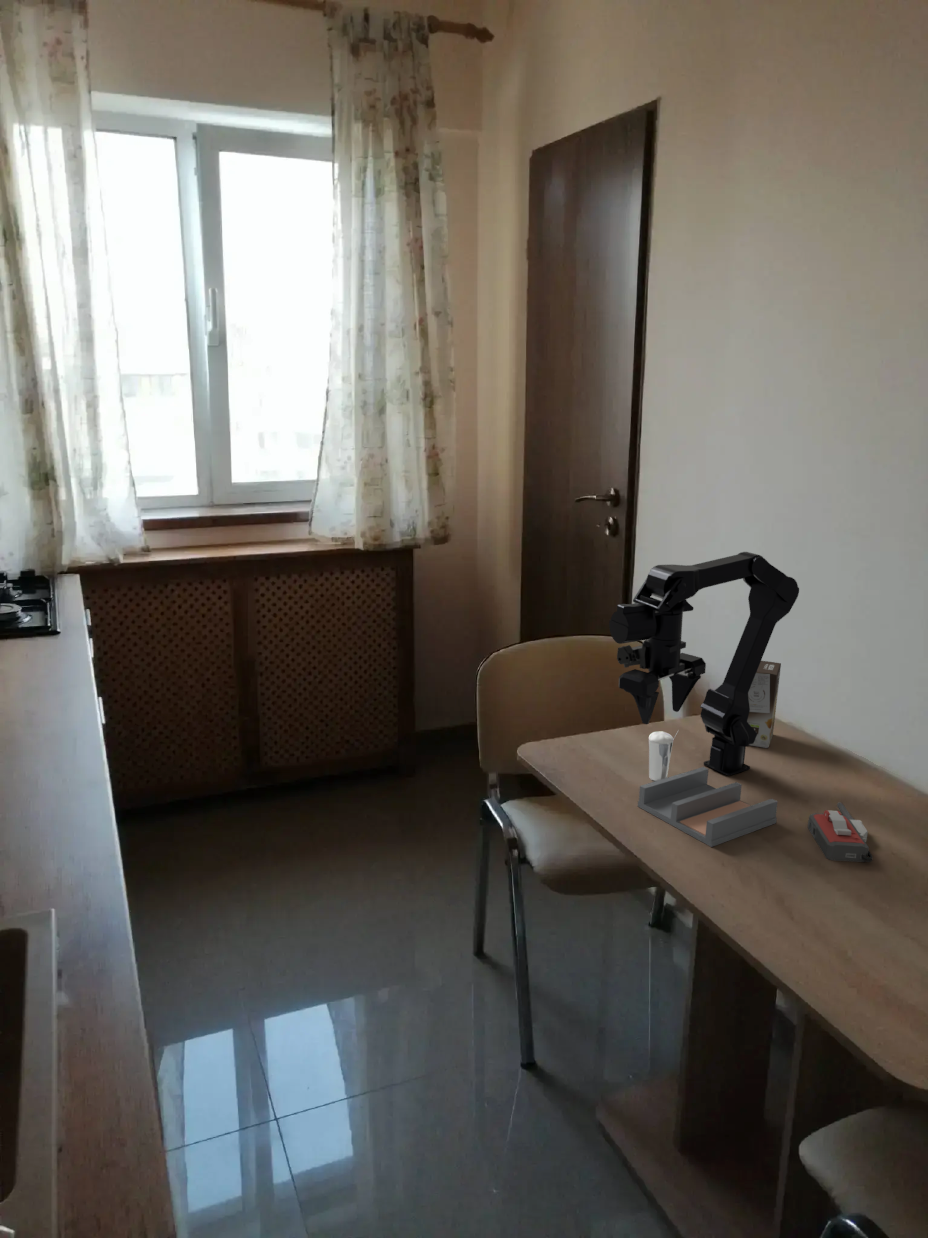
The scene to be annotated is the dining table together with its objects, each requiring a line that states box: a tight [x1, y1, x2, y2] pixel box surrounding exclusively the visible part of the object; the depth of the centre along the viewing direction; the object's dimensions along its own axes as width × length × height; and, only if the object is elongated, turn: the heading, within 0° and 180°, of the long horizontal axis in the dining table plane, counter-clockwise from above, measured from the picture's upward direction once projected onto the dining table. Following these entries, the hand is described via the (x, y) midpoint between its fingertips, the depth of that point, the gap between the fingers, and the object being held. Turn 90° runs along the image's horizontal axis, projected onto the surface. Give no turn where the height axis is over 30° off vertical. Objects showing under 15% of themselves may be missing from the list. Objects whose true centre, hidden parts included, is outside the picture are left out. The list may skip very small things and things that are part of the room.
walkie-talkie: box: [807, 801, 874, 863], centre depth 153 cm, size 9×4×20 cm
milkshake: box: [648, 729, 680, 782], centre depth 173 cm, size 5×5×10 cm
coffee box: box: [747, 660, 782, 749], centre depth 193 cm, size 9×6×16 cm
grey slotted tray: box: [637, 766, 778, 848], centre depth 160 cm, size 16×17×4 cm
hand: (660, 717), depth 170 cm, fingers open, 9 cm apart
